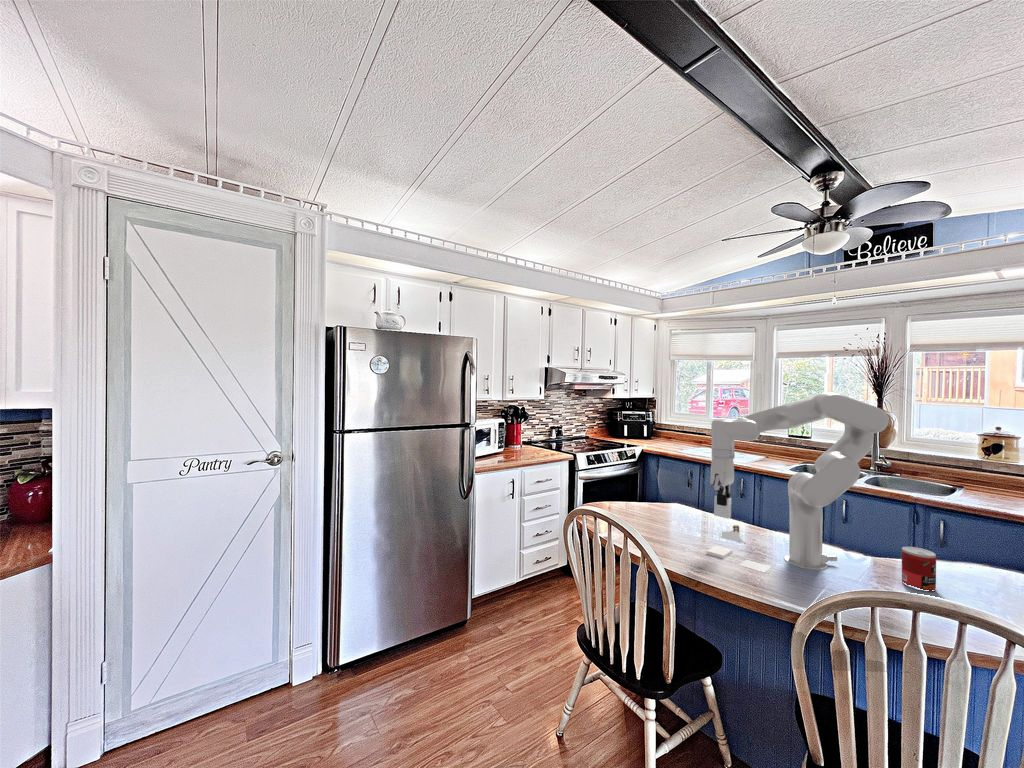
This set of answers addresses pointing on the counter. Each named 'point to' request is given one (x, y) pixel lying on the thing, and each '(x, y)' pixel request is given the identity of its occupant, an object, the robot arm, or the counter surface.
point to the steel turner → (723, 508)
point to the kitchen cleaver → (733, 535)
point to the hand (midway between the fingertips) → (723, 504)
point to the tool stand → (755, 566)
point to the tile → (719, 552)
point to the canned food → (919, 568)
